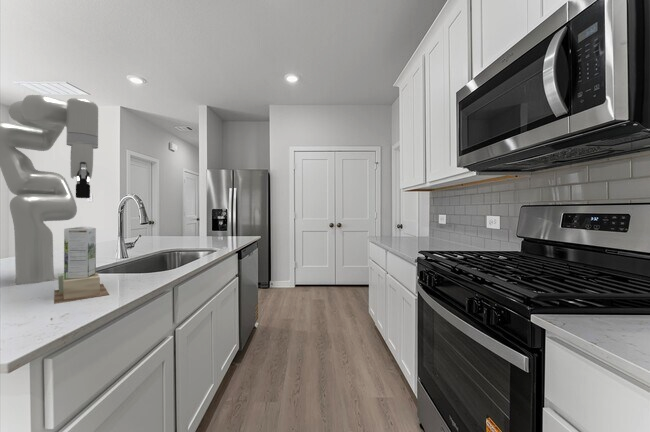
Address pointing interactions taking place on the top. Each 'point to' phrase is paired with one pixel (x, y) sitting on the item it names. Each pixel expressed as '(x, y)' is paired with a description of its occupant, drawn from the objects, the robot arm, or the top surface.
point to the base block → (81, 287)
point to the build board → (60, 298)
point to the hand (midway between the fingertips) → (82, 198)
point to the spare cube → (60, 282)
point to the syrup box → (79, 252)
